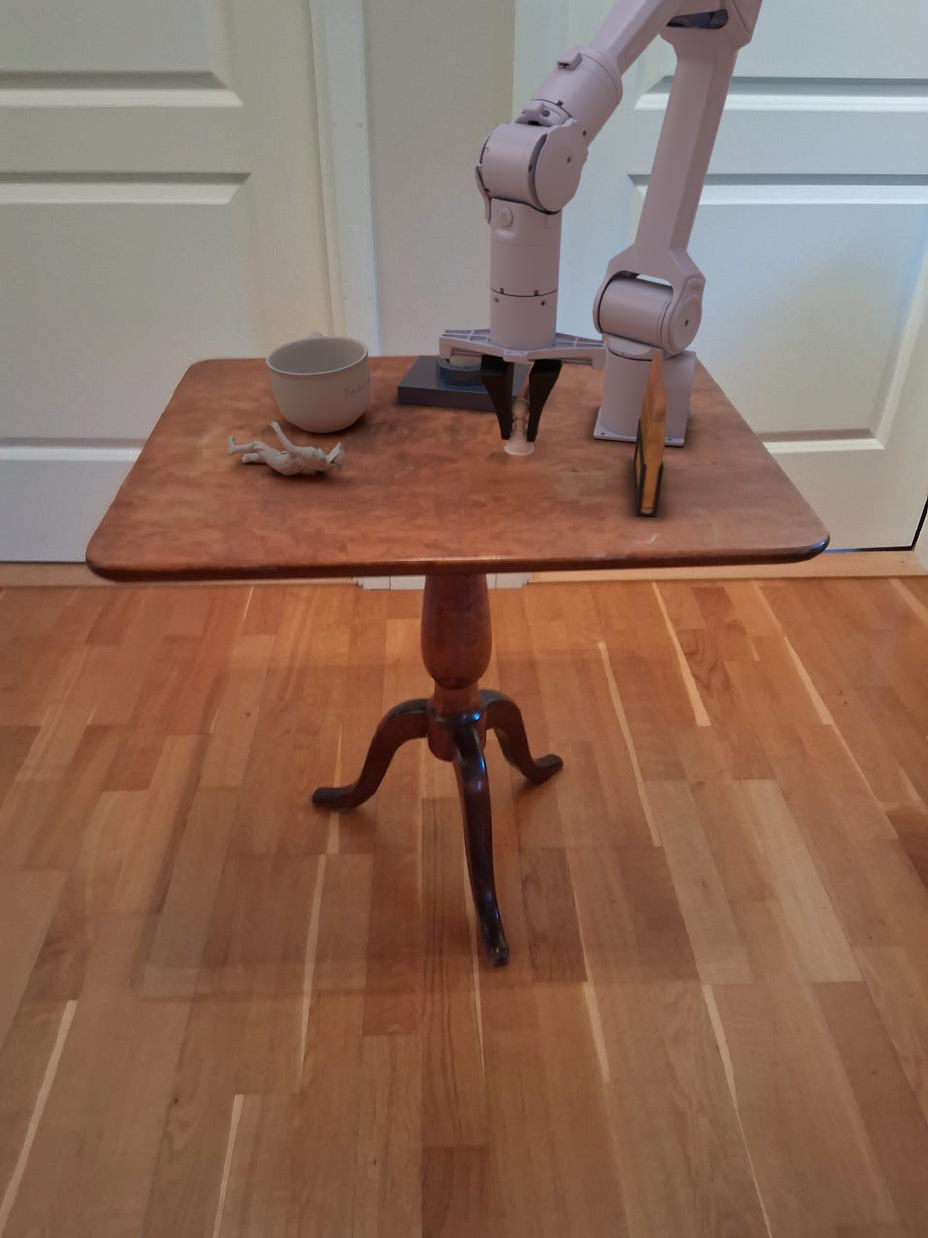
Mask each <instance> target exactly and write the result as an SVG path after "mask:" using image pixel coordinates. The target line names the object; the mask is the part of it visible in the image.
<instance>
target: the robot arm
mask: <svg viewBox="0 0 928 1238" xmlns="http://www.w3.org/2000/svg"><path fill="white" fill-rule="evenodd" d="M762 4H763V0H616V1H615V3H614V4H613V6H612V8H611V9H610V10H609V12H608V14H607V15H606V17H605V18H604V20H603V22H602V24H601V25H600V26H599V28H598V30H597V32H596V33H595V35H594V37H593V38H592V40H591V41H590V43H589V45H576V46H572V47H571V48H569V49H564V50H563V51H562V52H561V53H560V55H559V56H558V57H557V59H556V61H555V63H556V64H555V66H554V67H553V69H552V70H551V71H550V73H549V74H548V76H547V77H546V78H545V80H544V81H543V82H542V84H541V85H540V86H539V88H538V89H537V90H536V92H535V93H534V95H532V97H531V98H530V100H529V101H528V103H527V104H526V105H525V107H524V108H523V109H522V110H521V112H520V113H519V114H518V116H517V117H516V118H515V119H514V122H511V121H507V122H505V123H501V124H499V125H498V126H497V127H496V128H495V129H494V130H492V131H491V132H490V133H489V134H488V135H487V136H486V138H485V139H484V141H483V144H482V146H481V148H480V151H479V155H478V162H477V164H476V165H475V164H474V179H475V183H476V186H477V190H478V191H479V193H480V195H481V196H482V199H483V202H484V203H483V204H484V219H486V223H487V225H489V226H490V259H489V260H490V271H489V272H490V275H489V276H490V277H489V279H490V280H489V328H476V329H475V328H474V329H473V328H472V329H443V330H442V332H441V333H440V334H439V336H438V353H439V354H438V356H439V357H440V358H448V359H450V358H452V356H459V357H472V358H481V367H480V369H479V376H480V379H481V381H482V383H483V385H484V386H485V388H486V390H487V392H488V394H489V396H490V398H491V401H492V403H493V406H494V409H495V412H494V413H495V414H496V418H497V421H498V427H499V431H500V440H502V441H507V440H509V438H510V433H511V431H512V430H513V428H514V423H513V419H514V415H513V413H512V411H511V406H512V403H513V401H512V392H513V376H514V365H515V363H527V362H529V363H533V364H532V368H531V371H530V373H529V387H528V396H529V397H528V399H529V400H528V403H529V413H528V419H527V420H528V423H527V427H526V429H527V442H532V443H535V442H536V439H537V437H538V433H539V432H538V431H539V426H540V422H541V416H542V413H543V410H544V407H545V405H546V402H547V400H548V398H549V396H550V394H551V392H552V390H553V389H554V387H555V385H556V383H557V381H558V379H559V377H560V374H561V371H562V368H563V366H564V365H570V366H584V367H590V368H591V369H592V370H597V371H603V370H604V369H605V370H604V376H603V377H604V378H603V379H604V380H603V389H602V399H601V400H602V401H601V406H600V407H599V408H598V412H597V418H596V422H595V426H594V430H593V438H594V439H598V440H607V441H608V440H610V441H619V442H633V443H636V437H637V429H638V422H639V418H641V411H642V403H643V396H644V393H645V390H646V385H647V381H648V374H649V369H650V365H651V362H652V360H653V357H654V355H655V354H656V352H659V354H660V358H661V365H662V372H663V379H664V386H665V393H666V401H667V410H666V423H665V445H664V446H677V447H682V446H683V445H684V444H685V436H686V430H687V424H688V422H690V420H691V414H692V407H693V406H692V405H693V404H692V403H691V399H692V398H691V397H692V392H693V384H694V377H695V370H696V361H697V351H695V350H689V349H687V348H688V347H689V346H690V345H691V344H692V343H693V341H694V339H695V338H696V335H697V333H698V332H699V329H700V326H701V322H702V317H703V297H704V292H705V287H706V282H707V280H706V277H705V276H704V274H703V272H702V271H701V270H700V268H699V267H698V265H697V264H696V263H695V262H694V260H693V259H692V257H691V255H690V254H689V252H688V247H689V242H690V239H691V235H692V232H693V228H694V224H695V220H696V216H697V212H698V208H699V204H700V201H701V197H702V193H703V190H704V185H705V182H706V178H707V174H708V170H709V167H710V163H711V159H712V155H713V151H714V147H715V143H716V140H717V136H718V132H719V128H720V124H721V121H722V117H723V113H724V109H725V106H726V101H727V98H728V94H729V90H730V86H731V83H732V82H731V81H732V78H733V75H734V71H735V67H736V63H737V59H738V56H739V51H740V50H741V49H743V48H744V47H746V46H747V45H749V44H750V43H751V42H752V39H753V36H754V32H755V29H756V25H757V22H758V19H759V15H760V11H761V8H762ZM658 35H659V36H660V38H661V39H662V40H664V41H665V42H666V43H668V44H670V45H671V46H672V48H673V51H674V54H675V56H676V66H675V69H674V74H673V78H672V82H671V86H670V91H669V94H668V99H667V104H666V106H665V107H666V108H665V111H664V115H663V120H662V125H661V128H660V133H659V136H658V137H659V138H658V141H657V146H656V150H655V154H654V158H653V163H652V166H651V170H650V175H649V180H648V184H647V187H646V192H645V196H644V200H643V205H642V208H641V212H640V217H639V221H638V226H637V229H636V233H635V238H634V242H632V244H630V245H629V246H627V247H626V248H625V249H623V250H621V251H620V252H618V253H617V254H616V255H613V256H612V257H611V258H610V259H609V260H608V264H607V268H606V272H605V275H604V277H603V279H602V282H601V284H600V286H599V287H598V289H597V290H596V293H595V296H594V299H593V303H592V322H593V326H594V329H595V330H596V332H597V333H598V334H599V335H601V339H594V338H588V337H584V336H583V337H582V336H578V335H573V334H567V333H563V332H559V331H558V332H557V321H558V319H557V318H558V304H559V303H558V301H559V283H560V282H559V280H560V266H561V265H560V263H561V244H562V243H561V242H562V227H563V210H564V209H563V208H565V207H566V206H567V205H568V204H569V202H570V201H572V200H573V198H574V197H575V195H576V193H577V191H578V188H579V185H580V182H581V179H582V178H581V177H582V171H583V168H584V165H585V164H586V162H587V161H588V156H589V149H588V148H590V146H591V145H592V143H593V141H594V140H595V139H596V138H597V136H598V134H599V133H600V132H601V130H602V129H603V127H604V126H605V125H606V124H607V122H608V121H609V119H610V118H611V116H613V114H614V113H615V111H616V110H617V108H618V107H619V106H620V104H621V102H622V100H623V96H624V86H623V80H622V77H623V76H624V75H625V73H626V72H627V71H629V69H630V68H631V66H632V65H633V64H634V63H635V62H636V61H637V59H639V58H640V56H642V54H643V53H644V52H645V50H646V49H647V48H648V47H649V46H650V44H651V43H652V42H653V41H654V40H655V39H656V37H657V36H658ZM641 275H643V276H647V277H650V278H651V277H652V278H657V279H661V280H664V281H666V282H668V283H669V284H665V283H660V282H656V281H652V280H647V279H642V278H640V276H641ZM638 277H639V278H638Z"/></svg>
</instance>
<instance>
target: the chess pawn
mask: <svg viewBox="0 0 928 1238" xmlns="http://www.w3.org/2000/svg"><path fill="white" fill-rule="evenodd" d="M511 411H512V413H513V417H514V418H513V425H514V426H513V429H512V431H511V433H510V438H509V440H506V444H505V445H504V446H503V450H504V452H505V453H506V454H508V455H510V456H513V457H527V456H529V455H531V454H532V453H533V452H534V451H535V446H534V445H533V442H527V427H526V425H528V419H527V418H526V417H527V416H529V401H528V400H526V399H525V398H524V399H517V400H515V401H514V402H513V403H512V406H511Z"/></svg>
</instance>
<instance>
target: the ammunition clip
mask: <svg viewBox="0 0 928 1238" xmlns="http://www.w3.org/2000/svg"><path fill="white" fill-rule="evenodd" d="M666 410H667V401H666V393H665V386H664V379H663V372H662V365H661V358H660V354H659V352H656V354H655V355H654V357H653V360H652V362H651V365H650V369H649V374H648V381H647V385H646V390H645V393H644V396H643V403H642V411H641V418H639V422H638V429H637V437H636V442H635V447H634V454H633V462H632V470H633V483H634V484H633V486H634V487H633V489H634V502H635V503H634V504H635V515H636V516H647V517H657V514H658V508H659V500H660V494H661V487H662V480H663V473H664V460H663V459H664V453H665V452H664V451H665V446H666V445H665V423H666Z"/></svg>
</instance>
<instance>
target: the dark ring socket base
mask: <svg viewBox="0 0 928 1238" xmlns="http://www.w3.org/2000/svg"><path fill="white" fill-rule="evenodd" d="M480 367H481V365H478V366H472V367H462V366H454V365H451V364H449V359H448V358H440V357H439V355H438V356H432V355H419V356H418V357H416V360H415V361H414V362H413V363H412V365H411V366H410V368H409V369H408V371H407V372H406V373H405V375H404V376H403V377H402V379H401V380H400V381H399V383H398V384H397V387H396V389H397V403H398V404H400V405H411V406H422V407H423V406H425V407H436V408H444V409H445V408H446V409H455V410H456V409H457V410H467V411H468V410H470V411H481V412H493V413H496V412H495V409H494V406H493V403H492V401H491V398H490V396H489V394H488V392H487V390H486V388H485V386H484V385H483V383H482V381H481V379H480V376H479V369H480ZM532 367H533V364H532V363H526V362H524V363H518V362H515V365H514V376H513V392H512V401H513V402H514V401H515V400H517V399H525V397H526V394H527V392H528V390H529V373H530V371H531V368H532Z"/></svg>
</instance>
